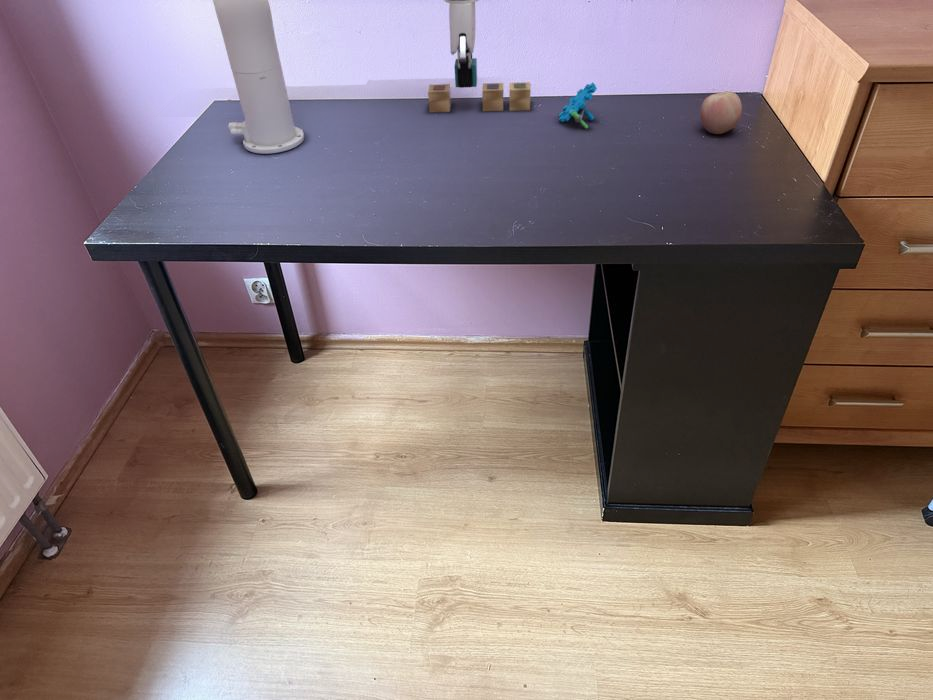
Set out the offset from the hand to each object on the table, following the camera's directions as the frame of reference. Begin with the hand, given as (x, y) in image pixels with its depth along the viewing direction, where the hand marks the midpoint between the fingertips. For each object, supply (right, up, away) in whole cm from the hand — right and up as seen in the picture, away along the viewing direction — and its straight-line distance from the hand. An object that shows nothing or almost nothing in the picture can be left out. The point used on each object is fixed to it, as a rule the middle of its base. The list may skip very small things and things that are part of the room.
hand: (466, 81), depth 146 cm
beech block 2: (+6, -4, +3) cm, 8 cm away
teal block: (0, 0, 0) cm, 0 cm away
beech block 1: (-6, -4, +4) cm, 8 cm away
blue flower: (+24, -11, -4) cm, 26 cm away
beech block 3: (+12, -4, +3) cm, 13 cm away
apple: (+51, -15, -12) cm, 55 cm away
